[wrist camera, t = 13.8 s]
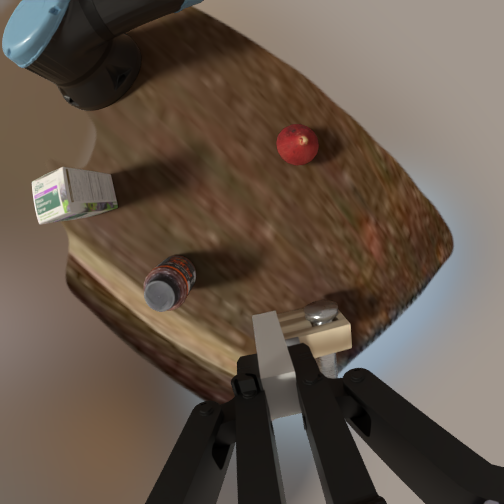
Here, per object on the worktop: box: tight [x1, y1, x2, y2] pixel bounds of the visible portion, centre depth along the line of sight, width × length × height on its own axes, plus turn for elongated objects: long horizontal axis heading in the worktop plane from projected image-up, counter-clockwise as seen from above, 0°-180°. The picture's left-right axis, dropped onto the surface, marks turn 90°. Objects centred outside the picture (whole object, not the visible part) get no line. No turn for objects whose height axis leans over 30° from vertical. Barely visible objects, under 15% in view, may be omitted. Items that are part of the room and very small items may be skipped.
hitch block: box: [277, 308, 352, 358], centre depth 42 cm, size 4×12×9 cm, turn 102°
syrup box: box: [32, 167, 118, 224], centre depth 34 cm, size 6×6×14 cm
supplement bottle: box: [144, 255, 196, 312], centre depth 39 cm, size 6×6×11 cm
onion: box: [276, 124, 319, 165], centre depth 37 cm, size 6×6×8 cm
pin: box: [304, 300, 339, 378], centre depth 42 cm, size 13×5×5 cm, turn 12°
